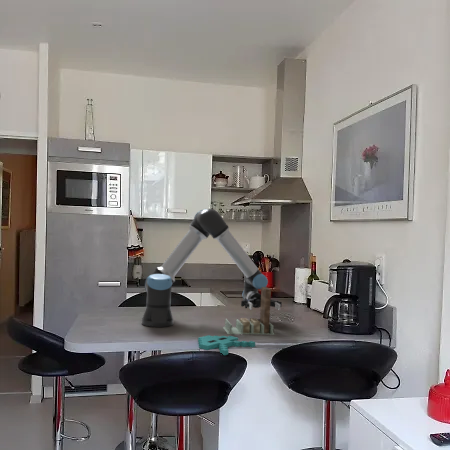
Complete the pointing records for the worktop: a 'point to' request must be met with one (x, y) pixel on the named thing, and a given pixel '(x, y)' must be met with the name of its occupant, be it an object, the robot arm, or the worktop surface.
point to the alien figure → (221, 343)
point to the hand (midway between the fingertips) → (265, 307)
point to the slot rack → (239, 328)
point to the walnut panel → (265, 308)
